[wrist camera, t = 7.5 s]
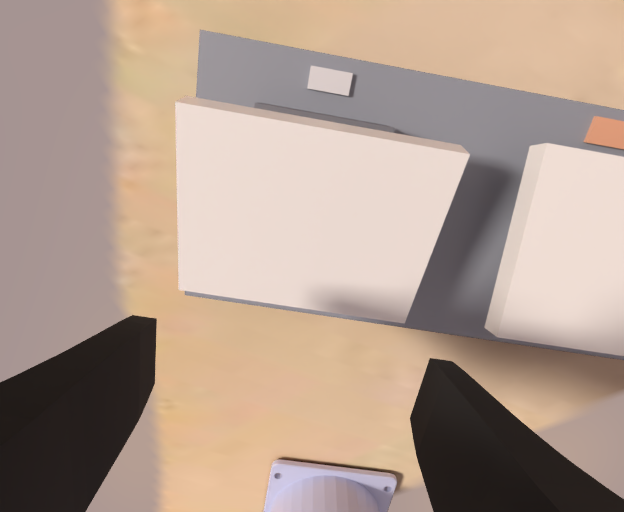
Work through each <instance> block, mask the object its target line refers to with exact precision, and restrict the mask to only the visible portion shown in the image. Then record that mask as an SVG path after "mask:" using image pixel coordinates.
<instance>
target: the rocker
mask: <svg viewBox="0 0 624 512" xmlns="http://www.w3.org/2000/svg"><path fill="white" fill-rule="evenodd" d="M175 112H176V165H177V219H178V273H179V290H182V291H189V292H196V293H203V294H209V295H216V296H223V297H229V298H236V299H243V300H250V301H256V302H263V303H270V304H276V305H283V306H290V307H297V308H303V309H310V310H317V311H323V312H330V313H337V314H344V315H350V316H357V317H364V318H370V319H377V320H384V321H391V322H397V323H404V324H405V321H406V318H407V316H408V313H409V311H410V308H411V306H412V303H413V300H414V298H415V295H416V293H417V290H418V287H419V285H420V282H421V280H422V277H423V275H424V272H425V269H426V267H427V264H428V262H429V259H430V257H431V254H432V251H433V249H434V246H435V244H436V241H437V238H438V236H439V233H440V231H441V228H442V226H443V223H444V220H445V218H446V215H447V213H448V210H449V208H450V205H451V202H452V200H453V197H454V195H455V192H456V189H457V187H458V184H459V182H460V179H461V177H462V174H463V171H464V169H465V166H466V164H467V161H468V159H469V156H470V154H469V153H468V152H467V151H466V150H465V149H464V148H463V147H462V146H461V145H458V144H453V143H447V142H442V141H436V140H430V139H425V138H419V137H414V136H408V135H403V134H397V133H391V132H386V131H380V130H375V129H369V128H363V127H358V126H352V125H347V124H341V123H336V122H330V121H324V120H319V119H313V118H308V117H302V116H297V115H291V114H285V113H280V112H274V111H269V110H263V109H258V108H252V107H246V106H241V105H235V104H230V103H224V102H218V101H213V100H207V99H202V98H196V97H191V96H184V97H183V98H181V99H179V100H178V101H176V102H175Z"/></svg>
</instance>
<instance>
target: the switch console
mask: <svg viewBox="0 0 624 512" xmlns="http://www.w3.org/2000/svg"><path fill="white" fill-rule="evenodd" d="M196 98H202V99H207V100H213V101H218V102H224V103H230V104H235V105H241V106H246V107H252V108H258V109H263V110H269V111H274V112H280V113H285V114H291V115H297V116H302V117H308V118H313V119H319V120H324V121H330V122H336V123H341V124H347V125H352V126H358V127H363V128H369V129H375V130H380V131H386V132H391V133H397V134H403V135H408V136H414V137H419V138H425V139H430V140H436V141H442V142H447V143H453V144H458V145H461V146H462V147H463V148H464V149H465V150H466V151H467V152H468V153H469V154H470V156H469V159H468V161H467V164H466V166H465V169H464V171H463V174H462V177H461V179H460V182H459V184H458V187H457V189H456V192H455V195H454V197H453V200H452V202H451V205H450V208H449V210H448V213H447V215H446V218H445V220H444V223H443V226H442V228H441V231H440V233H439V236H438V238H437V241H436V244H435V246H434V249H433V251H432V254H431V257H430V259H429V262H428V264H427V267H426V269H425V272H424V275H423V277H422V280H421V282H420V285H419V287H418V290H417V293H416V295H415V298H414V300H413V303H412V306H411V308H410V311H409V313H408V316H407V318H406V321H405V324H404V323H397V322H391V321H384V320H377V319H370V318H364V317H357V316H350V315H344V314H337V313H330V312H323V311H317V310H310V309H303V308H297V307H290V306H283V305H276V304H270V303H263V302H256V301H250V300H243V299H236V298H229V297H223V296H216V295H209V294H203V293H196V292H189V291H185V295H188V296H195V297H202V298H209V299H215V300H222V301H229V302H236V303H242V304H249V305H256V306H262V307H269V308H276V309H283V310H289V311H296V312H303V313H310V314H316V315H323V316H330V317H337V318H343V319H350V320H357V321H364V322H370V323H377V324H384V325H391V326H397V327H404V328H411V329H418V330H424V331H431V332H438V333H444V334H451V335H458V336H465V337H471V338H478V339H485V340H492V341H498V342H505V343H512V344H519V345H525V346H532V347H539V348H546V349H552V350H559V351H566V352H573V353H579V354H586V355H593V356H600V357H606V358H613V359H620V360H624V356H619V355H612V354H606V353H599V352H592V351H586V350H579V349H572V348H566V347H559V346H552V345H545V344H539V343H532V342H525V341H519V340H512V339H505V338H498V337H496V336H495V335H493V334H492V333H491V332H489V331H488V330H487V329H485V328H484V327H485V323H486V319H487V315H488V311H489V307H490V303H491V299H492V295H493V291H494V287H495V283H496V279H497V275H498V271H499V267H500V263H501V259H502V255H503V251H504V247H505V243H506V239H507V235H508V231H509V227H510V223H511V219H512V215H513V211H514V207H515V203H516V199H517V195H518V191H519V187H520V183H521V179H522V175H523V171H524V167H525V163H526V159H527V155H528V151H529V147H530V146H532V145H538V144H543V143H551V144H556V145H562V146H567V147H573V148H578V149H584V150H589V151H594V152H600V153H605V154H611V155H616V156H622V157H624V110H620V109H615V108H609V107H604V106H599V105H594V104H588V103H583V102H578V101H573V100H567V99H562V98H557V97H552V96H546V95H541V94H536V93H531V92H525V91H520V90H515V89H509V88H504V87H499V86H494V85H488V84H483V83H478V82H473V81H467V80H462V79H457V78H452V77H446V76H441V75H436V74H430V73H425V72H420V71H415V70H409V69H404V68H399V67H394V66H388V65H383V64H378V63H373V62H367V61H362V60H357V59H352V58H346V57H341V56H336V55H330V54H325V53H320V52H315V51H309V50H304V49H299V48H294V47H288V46H283V45H278V44H273V43H267V42H262V41H257V40H252V39H246V38H241V37H236V36H230V35H225V34H220V33H215V32H209V31H204V30H200V37H199V55H198V72H197V89H196Z"/></svg>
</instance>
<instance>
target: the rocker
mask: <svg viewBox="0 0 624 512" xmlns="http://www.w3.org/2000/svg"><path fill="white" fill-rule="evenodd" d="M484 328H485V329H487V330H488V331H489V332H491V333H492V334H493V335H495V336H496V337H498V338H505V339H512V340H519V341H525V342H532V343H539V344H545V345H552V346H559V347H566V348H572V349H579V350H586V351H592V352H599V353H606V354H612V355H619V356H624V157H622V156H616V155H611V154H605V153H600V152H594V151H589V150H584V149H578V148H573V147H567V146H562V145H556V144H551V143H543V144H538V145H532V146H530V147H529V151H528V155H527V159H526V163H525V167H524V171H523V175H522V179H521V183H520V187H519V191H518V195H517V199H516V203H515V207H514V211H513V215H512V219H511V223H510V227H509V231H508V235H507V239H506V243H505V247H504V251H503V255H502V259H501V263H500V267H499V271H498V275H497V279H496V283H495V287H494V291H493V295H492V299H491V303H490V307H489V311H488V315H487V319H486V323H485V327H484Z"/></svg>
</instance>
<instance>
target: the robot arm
mask: <svg viewBox="0 0 624 512" xmlns="http://www.w3.org/2000/svg"><path fill="white" fill-rule="evenodd" d="M156 321H157V319H155V318H148V317H141V316H134V315H132V316H130V317H128V318H126V319H124V320H122V321H120V322H118V323H116V324H115V325H113V326H111V327H109V328H107V329H105V330H104V331H102V332H100V333H98V334H96V335H94V336H92V337H91V338H89V339H87V340H85V341H83V342H81V343H80V344H78V345H76V346H74V347H72V348H70V349H68V350H66V351H65V352H63V353H61V354H59V355H57V356H55V357H53V358H51V359H49V360H46V361H44V362H42V363H40V364H38V365H36V366H34V367H32V368H30V369H28V370H26V371H24V372H22V373H20V374H18V375H16V376H14V377H11V378H9V379H7V380H5V381H2V382H0V512H85V511H86V510H87V508H88V506H89V504H90V503H91V501H92V499H93V498H94V496H95V494H96V493H97V491H98V489H99V488H100V486H101V484H102V482H103V481H104V479H105V477H106V476H107V474H108V472H109V470H110V469H111V467H112V466H113V464H114V462H115V460H116V459H117V457H118V455H119V453H120V452H121V450H122V448H123V447H124V445H125V443H126V442H127V440H128V438H129V436H130V435H131V433H132V431H133V429H134V428H135V426H136V424H137V422H138V421H139V418H140V417H141V414H142V412H143V410H144V408H145V405H146V403H147V401H148V398H149V396H150V393H151V391H152V389H153V386H154V384H155V355H156ZM410 421H411V427H412V433H413V439H414V445H415V450H416V455H417V459H418V462H419V466H420V469H421V472H422V476H423V479H424V482H425V486H426V488H427V492H428V495H429V498H430V502H431V505H432V508H433V511H434V512H624V499H622V498H621V497H619V496H618V495H616V494H615V493H614V492H612V491H610V490H609V489H608V488H606V487H605V486H603V485H602V484H601V483H599V482H598V481H597V480H595V479H594V478H592V477H591V476H590V475H588V474H587V473H586V472H584V471H583V470H581V469H580V468H579V467H577V466H576V465H574V464H573V463H572V462H571V461H569V460H567V458H565V457H564V456H563V455H561V454H560V453H559V452H558V451H556V450H555V449H554V448H552V447H551V446H550V445H549V444H548V443H547V442H545V441H544V440H543V439H542V438H540V437H539V436H538V435H537V434H535V433H534V432H533V431H532V430H531V429H529V428H528V427H527V426H526V425H525V424H524V423H522V422H521V421H520V420H519V419H518V418H517V417H515V416H514V415H513V414H512V413H511V412H510V411H509V410H507V409H506V408H505V407H504V406H503V405H502V404H501V403H500V402H498V401H497V400H496V399H495V398H494V397H493V396H492V395H491V394H489V393H488V392H487V391H486V390H485V389H484V388H483V387H482V386H481V385H479V384H478V383H477V382H476V381H475V380H474V379H473V378H472V377H470V376H469V375H468V374H467V373H466V372H465V371H464V370H462V369H461V368H460V367H459V366H457V365H456V364H455V363H454V362H452V361H446V360H439V359H432V358H430V360H429V363H428V366H427V369H426V372H425V375H424V378H423V381H422V384H421V387H420V390H419V393H418V396H417V399H416V402H415V405H414V408H413V411H412V414H411V417H410ZM396 485H397V479H396V476H395V475H394V474H391V473H386V472H377V471H369V470H361V469H353V468H345V467H337V466H329V465H321V464H313V463H305V462H297V461H289V460H281V459H278V460H275V461H274V462H273V463H272V466H271V472H270V477H269V483H268V488H267V494H266V499H265V505H264V511H263V512H387V511H388V508H389V506H390V503H391V500H392V497H393V494H394V491H395V488H396ZM386 486H387V487H386Z"/></svg>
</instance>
